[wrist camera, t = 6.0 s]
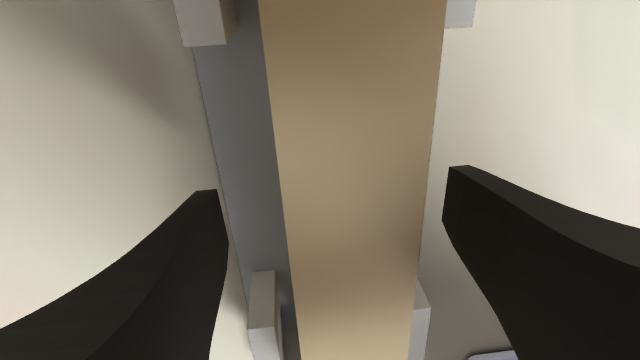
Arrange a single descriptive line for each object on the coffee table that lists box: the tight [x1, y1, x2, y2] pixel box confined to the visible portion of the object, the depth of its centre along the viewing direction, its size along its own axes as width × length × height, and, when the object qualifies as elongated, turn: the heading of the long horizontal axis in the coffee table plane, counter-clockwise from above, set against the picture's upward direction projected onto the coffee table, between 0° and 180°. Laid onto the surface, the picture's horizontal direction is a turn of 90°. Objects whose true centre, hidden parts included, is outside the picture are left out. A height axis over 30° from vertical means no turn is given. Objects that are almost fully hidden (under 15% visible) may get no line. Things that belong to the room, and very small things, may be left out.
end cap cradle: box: [173, 0, 476, 360], centre depth 13 cm, size 24×8×4 cm, turn 3°
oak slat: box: [258, 0, 447, 360], centre depth 11 cm, size 16×3×6 cm, turn 3°
